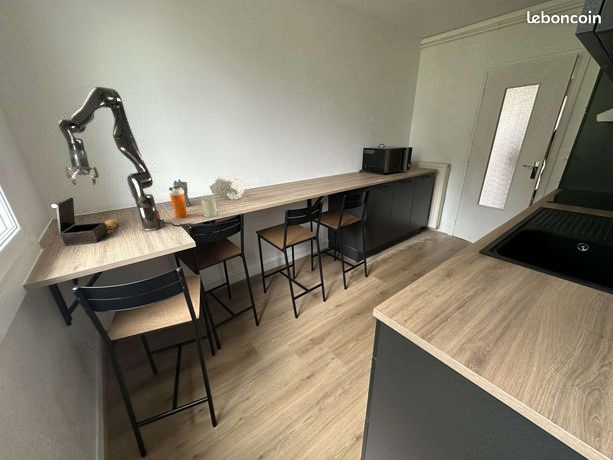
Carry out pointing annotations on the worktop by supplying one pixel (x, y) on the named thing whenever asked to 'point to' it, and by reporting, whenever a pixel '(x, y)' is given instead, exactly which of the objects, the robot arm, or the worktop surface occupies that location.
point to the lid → (65, 214)
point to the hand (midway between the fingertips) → (85, 184)
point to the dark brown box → (84, 233)
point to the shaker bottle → (178, 201)
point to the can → (209, 206)
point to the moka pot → (184, 187)
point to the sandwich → (110, 224)
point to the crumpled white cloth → (227, 187)
